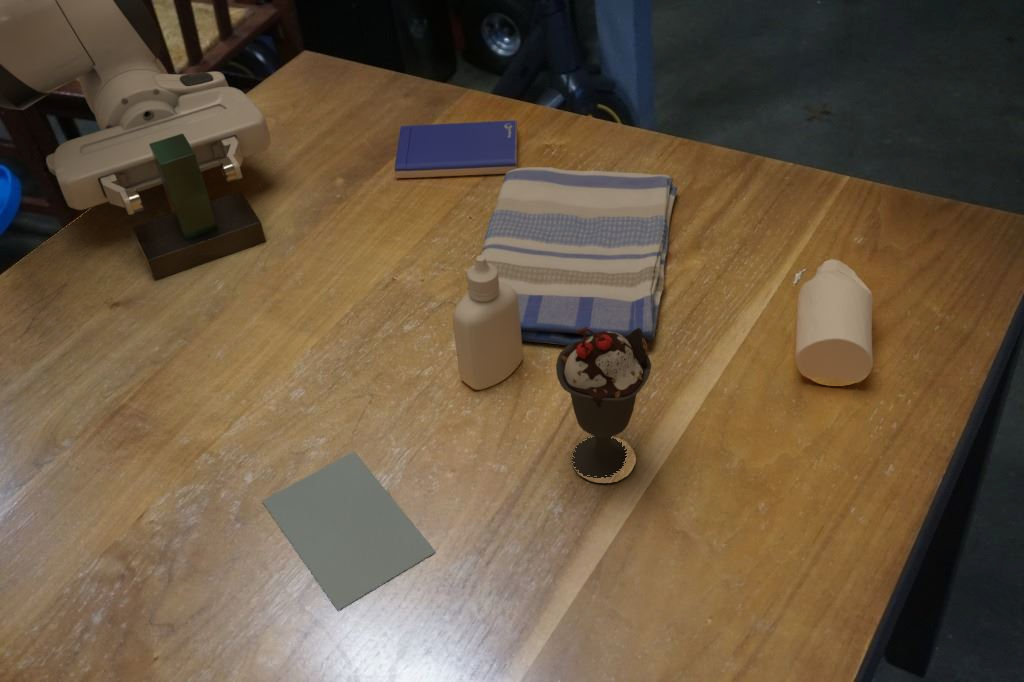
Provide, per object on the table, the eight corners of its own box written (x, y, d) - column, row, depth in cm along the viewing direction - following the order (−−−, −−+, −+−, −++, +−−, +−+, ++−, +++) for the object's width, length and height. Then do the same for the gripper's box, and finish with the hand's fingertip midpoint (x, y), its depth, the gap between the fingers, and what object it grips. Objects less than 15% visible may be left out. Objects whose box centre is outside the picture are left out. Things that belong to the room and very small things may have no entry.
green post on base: (154, 280, 103) (119, 184, 95) (139, 246, 107) (103, 151, 99) (266, 241, 106) (240, 145, 99) (246, 210, 110) (220, 115, 103)
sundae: (550, 486, 82) (543, 341, 72) (571, 421, 87) (566, 276, 77) (637, 502, 81) (642, 355, 71) (654, 435, 86) (660, 288, 75)
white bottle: (866, 293, 96) (877, 243, 92) (867, 391, 88) (879, 340, 84) (795, 286, 97) (803, 236, 93) (790, 383, 89) (798, 332, 85)
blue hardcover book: (516, 118, 117) (400, 123, 118) (516, 161, 111) (394, 167, 112) (517, 130, 118) (402, 136, 119) (517, 174, 112) (396, 180, 113)
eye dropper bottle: (453, 359, 93) (439, 248, 85) (518, 345, 94) (509, 234, 86) (464, 395, 90) (450, 283, 82) (531, 380, 91) (523, 268, 82)
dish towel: (678, 191, 108) (679, 167, 106) (657, 357, 92) (658, 333, 90) (505, 181, 111) (503, 158, 109) (455, 340, 95) (452, 316, 93)
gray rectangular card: (261, 501, 83) (261, 500, 83) (354, 451, 86) (354, 451, 86) (337, 611, 76) (337, 610, 76) (435, 552, 79) (435, 551, 79)
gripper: (31, 126, 105) (60, 198, 96) (235, 66, 112) (280, 128, 103) (53, 180, 110) (83, 254, 101) (249, 119, 116) (293, 184, 107)
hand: (184, 190), depth 102 cm, fingers open, 8 cm apart
